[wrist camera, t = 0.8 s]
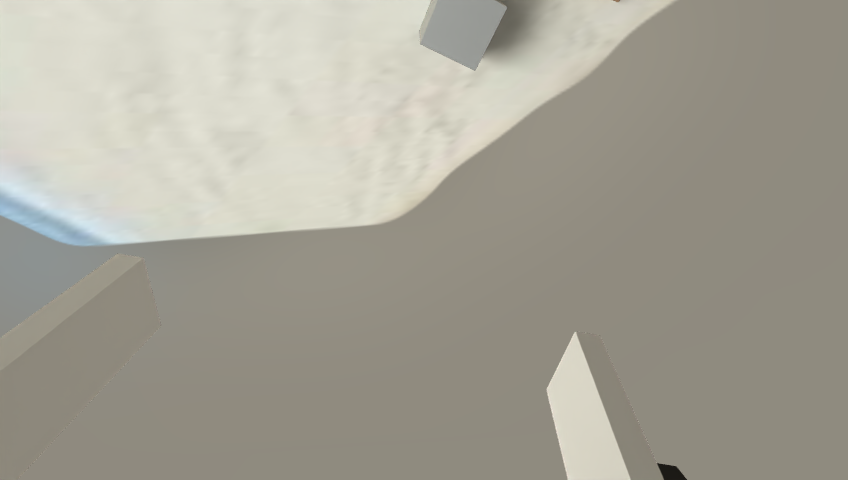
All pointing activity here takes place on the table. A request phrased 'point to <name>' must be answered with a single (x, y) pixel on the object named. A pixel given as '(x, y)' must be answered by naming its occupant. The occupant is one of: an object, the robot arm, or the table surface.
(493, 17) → the grey block
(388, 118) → the table surface
